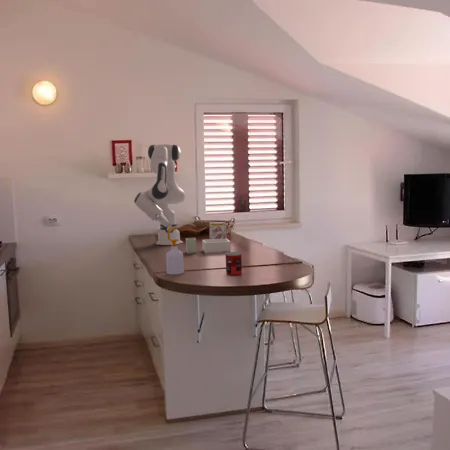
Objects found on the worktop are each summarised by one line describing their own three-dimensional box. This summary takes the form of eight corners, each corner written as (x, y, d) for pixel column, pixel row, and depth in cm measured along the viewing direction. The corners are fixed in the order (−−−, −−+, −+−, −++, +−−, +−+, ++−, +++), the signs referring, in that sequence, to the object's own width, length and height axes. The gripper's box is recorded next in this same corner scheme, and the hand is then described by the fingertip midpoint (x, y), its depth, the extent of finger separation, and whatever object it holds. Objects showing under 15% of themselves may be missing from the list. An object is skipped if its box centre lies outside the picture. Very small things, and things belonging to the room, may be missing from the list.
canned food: (225, 273, 288) (224, 252, 286) (240, 272, 288) (240, 251, 287) (226, 276, 280) (226, 254, 279) (242, 275, 281) (242, 254, 279)
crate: (202, 250, 362) (202, 239, 361) (226, 248, 364) (226, 238, 363) (205, 253, 348) (205, 242, 347) (230, 252, 350) (230, 241, 350)
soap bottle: (185, 273, 289) (183, 227, 286) (168, 275, 287) (166, 228, 284) (182, 270, 298) (180, 225, 295) (165, 272, 295) (163, 226, 292)
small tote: (186, 252, 357) (185, 238, 356) (195, 251, 358) (194, 237, 357) (187, 253, 351) (186, 239, 350) (196, 253, 352) (196, 239, 351)
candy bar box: (209, 247, 372) (208, 223, 370) (210, 246, 377) (209, 222, 375) (226, 247, 371) (225, 222, 369) (226, 246, 376) (226, 222, 374)
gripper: (160, 211, 338) (176, 226, 340) (158, 208, 358) (174, 222, 361) (153, 219, 338) (169, 234, 340) (151, 215, 358) (167, 230, 360)
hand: (172, 228), depth 351 cm, fingers open, 8 cm apart
